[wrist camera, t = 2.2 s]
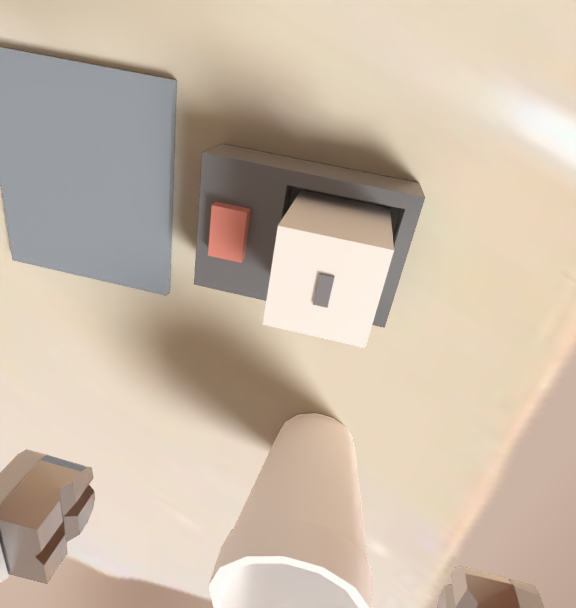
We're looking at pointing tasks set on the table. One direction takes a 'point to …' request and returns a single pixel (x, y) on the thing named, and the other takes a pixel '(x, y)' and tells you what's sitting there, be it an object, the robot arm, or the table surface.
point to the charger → (329, 268)
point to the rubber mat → (88, 168)
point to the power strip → (271, 209)
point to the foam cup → (299, 527)
